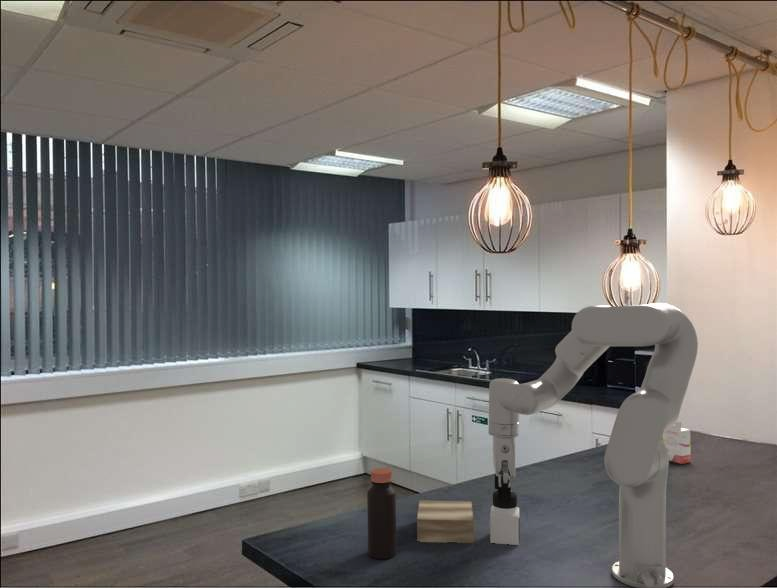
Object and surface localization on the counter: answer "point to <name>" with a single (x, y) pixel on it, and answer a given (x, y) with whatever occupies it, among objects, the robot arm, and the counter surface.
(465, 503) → the birch block
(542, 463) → the counter surface
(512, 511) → the medicine bottle
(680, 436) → the ink cartridge box
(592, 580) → the counter surface
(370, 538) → the vinegar
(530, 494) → the counter surface
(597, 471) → the counter surface
